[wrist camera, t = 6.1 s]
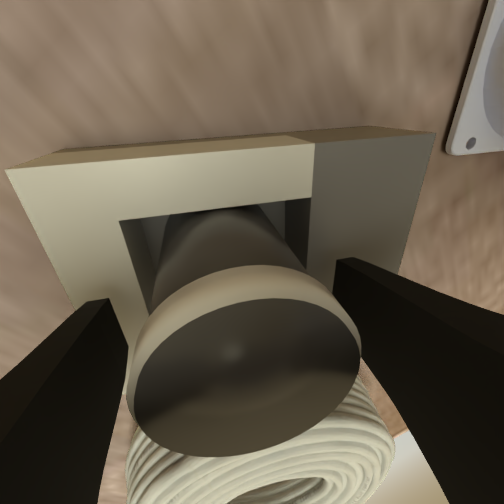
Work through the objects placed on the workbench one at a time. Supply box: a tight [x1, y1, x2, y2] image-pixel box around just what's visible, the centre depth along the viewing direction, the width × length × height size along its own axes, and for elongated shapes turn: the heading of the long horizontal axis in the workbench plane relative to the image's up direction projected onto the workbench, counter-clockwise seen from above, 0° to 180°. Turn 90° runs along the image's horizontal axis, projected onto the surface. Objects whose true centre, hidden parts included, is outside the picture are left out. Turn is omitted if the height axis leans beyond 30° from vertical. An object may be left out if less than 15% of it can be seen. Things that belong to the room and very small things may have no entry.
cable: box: [125, 375, 395, 504], centre depth 18 cm, size 18×18×6 cm
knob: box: [126, 204, 361, 457], centre depth 8 cm, size 5×5×7 cm
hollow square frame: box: [5, 126, 436, 395], centre depth 11 cm, size 12×9×4 cm
